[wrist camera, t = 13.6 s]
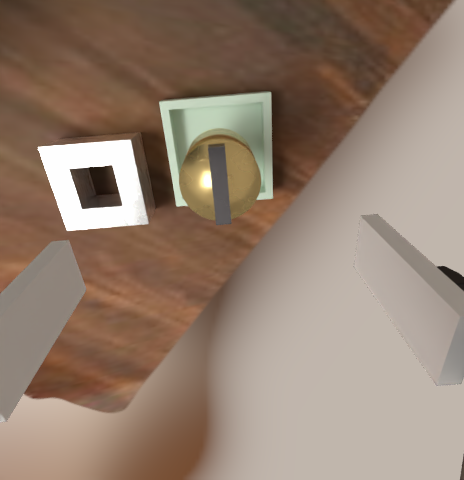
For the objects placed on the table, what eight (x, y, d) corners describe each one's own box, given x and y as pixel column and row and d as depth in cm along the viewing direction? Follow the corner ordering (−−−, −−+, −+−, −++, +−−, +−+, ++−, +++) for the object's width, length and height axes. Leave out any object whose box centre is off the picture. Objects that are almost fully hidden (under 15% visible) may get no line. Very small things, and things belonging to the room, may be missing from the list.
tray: (163, 99, 33) (159, 101, 31) (267, 91, 33) (271, 92, 31) (179, 198, 38) (176, 206, 36) (269, 191, 38) (272, 198, 36)
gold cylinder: (194, 180, 37) (183, 230, 25) (187, 122, 34) (170, 148, 22) (249, 175, 37) (264, 223, 25) (246, 116, 34) (261, 140, 22)
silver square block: (58, 138, 35) (37, 147, 31) (140, 132, 35) (130, 139, 31) (82, 214, 39) (67, 230, 35) (155, 208, 39) (148, 223, 35)
